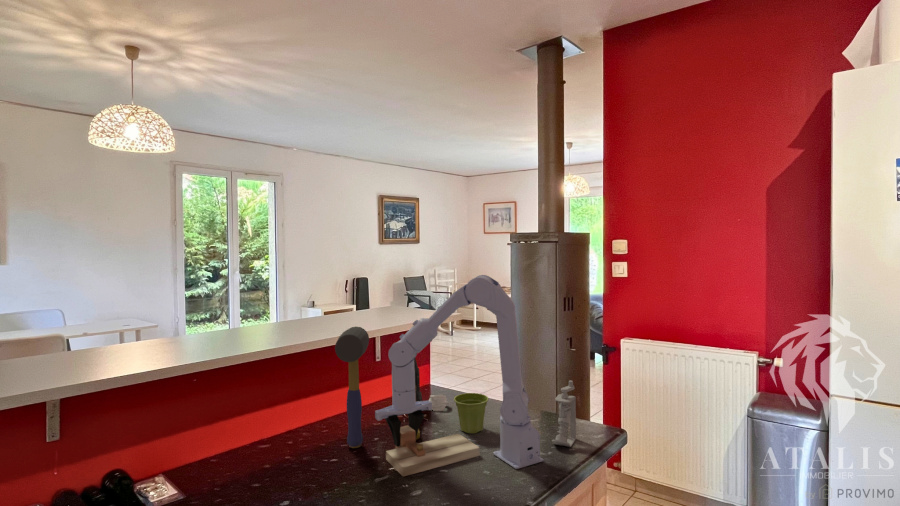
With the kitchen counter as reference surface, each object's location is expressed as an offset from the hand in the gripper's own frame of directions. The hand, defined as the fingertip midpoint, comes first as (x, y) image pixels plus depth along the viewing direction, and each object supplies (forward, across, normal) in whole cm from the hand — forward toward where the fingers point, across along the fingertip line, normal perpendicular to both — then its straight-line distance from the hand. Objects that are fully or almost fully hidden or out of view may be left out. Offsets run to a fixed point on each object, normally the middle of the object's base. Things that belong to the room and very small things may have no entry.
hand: (404, 443), depth 121 cm
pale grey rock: (+2, -21, -24) cm, 32 cm away
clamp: (+2, -36, +18) cm, 40 cm away
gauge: (+2, 0, +4) cm, 4 cm away
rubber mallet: (+2, +10, -8) cm, 13 cm away
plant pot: (+2, -21, -2) cm, 21 cm away
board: (+2, -4, +8) cm, 9 cm away
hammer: (+2, -11, -18) cm, 21 cm away
